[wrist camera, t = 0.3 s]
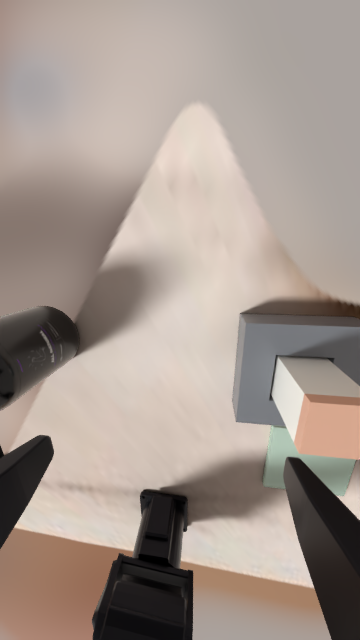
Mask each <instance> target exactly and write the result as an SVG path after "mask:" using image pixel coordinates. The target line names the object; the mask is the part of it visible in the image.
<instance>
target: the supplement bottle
mask: <svg viewBox="0 0 360 640" xmlns="http://www.w3.org/2000/svg"><path fill="white" fill-rule="evenodd" d="M78 347H79V334H78V331H77V328H76V326H75V324H74V323H73V321H72V320H71V319H70V318H69V317H68V316H67V315H65V313H63V312H62V311H60V310H58V309H56V308H53V307H48V306H38V307H34V308H30V309H26V310H22V311H19V312H15V313H11V314H8V315H4V316H1V317H0V411H1V410H3V409H5V408H6V407H8V406H9V405H11V404H12V403H13V402H15V401H16V400H17V399H19V398H20V397H21V396H23V395H24V394H25V393H27V392H28V391H30V390H31V389H32V388H34V387H35V386H36V385H38V384H39V383H40V382H42V381H43V380H44V379H46V378H47V377H48V376H50V375H51V374H53V373H54V372H55V371H57V370H58V369H59V368H61V367H62V366H63V365H65V364H66V363H67V362H68V361H70V360H71V359H72V358H73V357H74V356H75V354H76V352H77V350H78Z"/></svg>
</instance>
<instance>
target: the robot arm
mask: <svg viewBox="0 0 360 640" xmlns="http://www.w3.org/2000/svg"><path fill="white" fill-rule="evenodd" d="M53 455H54V449H53V445H52V441H51V438H50V437H49V436H46V435H39V436H37V437H35V438H33V439H31V440H30V441H28V442H26V443H25V444H23V445H21V446H20V447H18V448H16V449H15V450H13V451H12V452H10V453H8V454H7V455H5V456H3V457H2V458H0V549H1V547H2V546H3V544H4V542H5V541H6V539H7V538H8V536H9V534H10V533H11V531H12V530H13V528H14V526H15V525H16V523H17V521H18V520H19V518H20V517H21V515H22V513H23V512H24V510H25V508H26V507H27V505H28V503H29V502H30V500H31V498H32V496H33V494H34V492H35V491H36V489H37V487H38V485H39V483H40V481H41V479H42V477H43V475H44V473H45V471H46V470H47V468H48V466H49V464H50V462H51V460H52V458H53ZM283 479H284V484H285V488H286V492H287V496H288V500H289V504H290V508H291V512H292V516H293V520H294V524H295V528H296V532H297V536H298V540H299V543H300V546H301V549H302V552H303V555H304V558H305V561H306V564H307V567H308V570H309V573H310V576H311V579H312V582H313V585H314V588H315V591H316V594H317V597H318V600H319V603H320V606H321V609H322V612H323V615H324V618H325V621H326V624H327V626H328V630H329V633H330V636H331V639H332V640H360V520H359V519H358V518H357V517H356V516H355V515H354V514H353V513H352V512H351V511H350V510H349V509H348V508H347V507H346V506H345V505H344V504H343V503H342V502H341V500H340V499H339V498H338V497H337V496H336V495H335V494H334V493H333V492H332V491H331V490H330V489H329V488H328V487H327V486H326V485H325V484H324V483H323V482H322V481H321V480H320V479H319V478H318V476H317V475H316V474H315V473H314V472H313V471H312V470H311V469H310V468H309V467H308V466H307V465H306V464H305V463H304V462H303V461H302V460H301V459H300V458H298V457H289V456H288V457H286V460H285V466H284V472H283ZM140 503H141V514H142V519H141V523H140V527H139V531H138V535H137V539H136V544H135V548H134V552H133V556H132V557H129V556H125V555H124V554H121V553H119V556H118V559H117V560H115V561H113V564H112V567H111V571H110V574H109V577H108V580H107V583H106V585H105V588H104V590H103V593H102V595H101V598H100V600H99V602H98V605H97V607H96V610H95V612H94V615H93V619H92V624H93V628H94V633H93V640H192V632H193V571H192V570H188V571H187V570H183V569H180V562H181V550H182V538H183V532H186V531H187V506H188V500H187V498H186V497H182V496H174V495H166V494H159V493H151V492H141V495H140Z"/></svg>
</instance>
